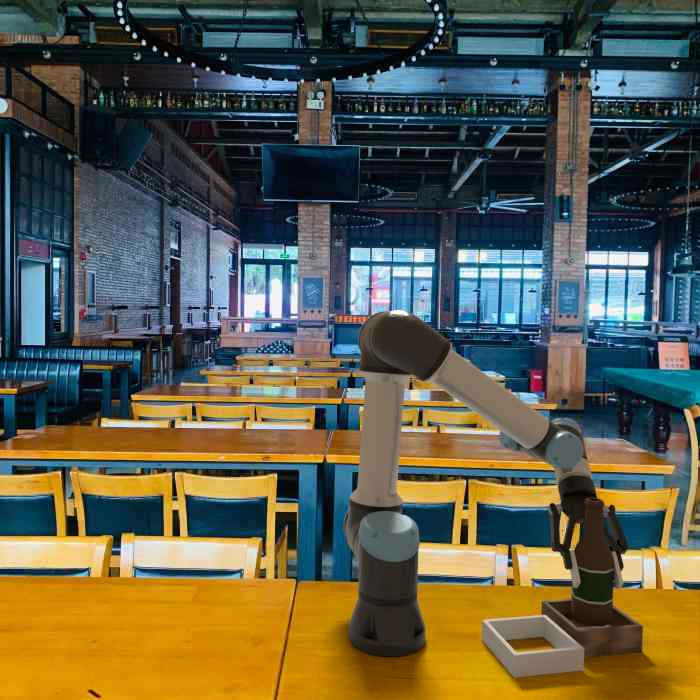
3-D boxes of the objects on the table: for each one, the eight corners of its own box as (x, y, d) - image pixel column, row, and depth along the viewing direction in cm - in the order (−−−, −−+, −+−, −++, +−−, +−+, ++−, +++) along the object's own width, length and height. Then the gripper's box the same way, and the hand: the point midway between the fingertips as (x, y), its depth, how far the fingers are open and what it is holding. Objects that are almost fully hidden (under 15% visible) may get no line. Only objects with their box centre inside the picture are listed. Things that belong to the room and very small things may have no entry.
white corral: (513, 677, 110) (514, 655, 110) (481, 640, 123) (482, 620, 123) (583, 670, 113) (584, 648, 113) (544, 634, 126) (545, 614, 126)
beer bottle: (575, 606, 131) (578, 492, 130) (615, 615, 127) (618, 497, 126) (566, 621, 124) (570, 500, 123) (609, 631, 120) (612, 506, 119)
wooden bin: (578, 658, 117) (578, 631, 117) (541, 624, 130) (541, 600, 130) (642, 651, 120) (642, 626, 120) (599, 619, 133) (600, 596, 133)
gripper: (617, 492, 139) (645, 595, 124) (524, 490, 140) (541, 591, 125) (627, 474, 134) (658, 579, 118) (531, 472, 135) (549, 575, 119)
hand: (598, 585), depth 122 cm, fingers closed on beer bottle, 7 cm apart
